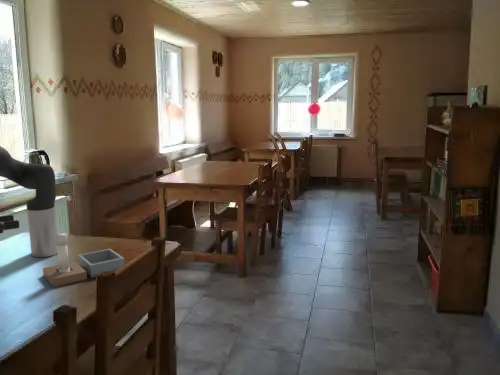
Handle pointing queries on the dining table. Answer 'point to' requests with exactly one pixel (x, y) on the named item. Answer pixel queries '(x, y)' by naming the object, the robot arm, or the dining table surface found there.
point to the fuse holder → (64, 274)
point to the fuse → (62, 252)
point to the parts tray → (100, 261)
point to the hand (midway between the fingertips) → (16, 221)
